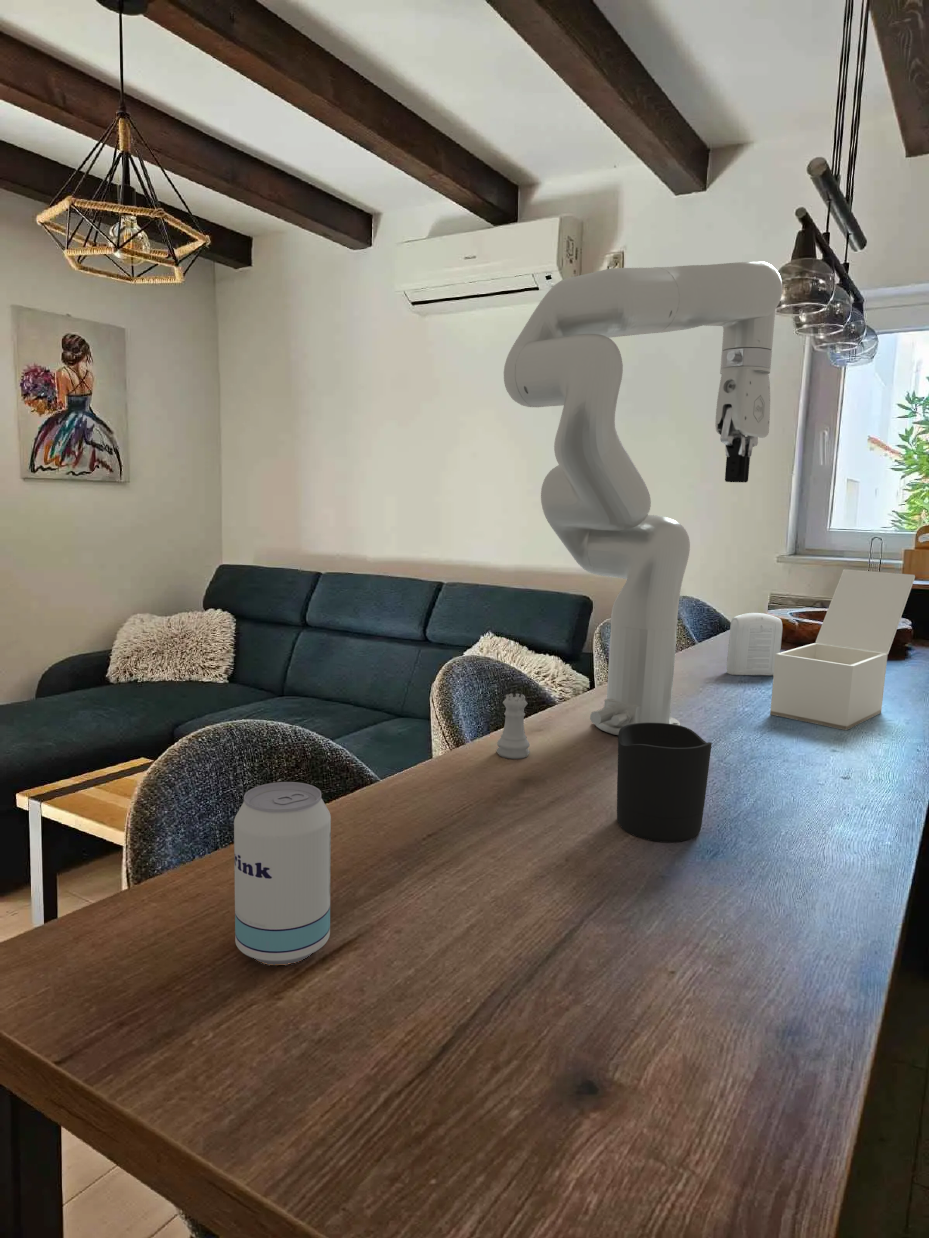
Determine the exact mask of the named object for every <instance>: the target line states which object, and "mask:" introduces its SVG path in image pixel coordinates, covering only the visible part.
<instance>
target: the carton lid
mask: <svg viewBox="0 0 929 1238" xmlns="http://www.w3.org/2000/svg"><path fill="white" fill-rule="evenodd" d="M915 575H916V574H909V573H898V572H897V573H896V572H895V573H894V572H885V571H873V570H872V571H871V570H863V569H862V570H858V569H848V568H843V570H842V572H841V575H840V577H839V581H838V583H837V585H836V588H835V590H834V593H833V596H832V598H831V600H830V603H829V606H828V609H827V610H826V614H825V616H824V619H823V621H822V624H821V626H820V629H819V632H818V634H817V637H816V639H815V643H817V644H824V645H831V646H838V647H845V648H852V649H859V650H866V651H872V652H879V653H886V654H888V655H889V653H890V650H891V647H892V644H893V642H894V638H895V636H896V633H897V630H898V628H899V625H900V622H901V618H902V615H903V613H904V610H905V607H906V604H907V601H908V598H909V597H910V593H911V591H912V587H913V584H914V581H915V578H916V576H915Z"/></svg>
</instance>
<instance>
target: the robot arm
mask: <svg viewBox="0 0 929 1238" xmlns="http://www.w3.org/2000/svg"><path fill="white" fill-rule="evenodd" d="M783 289H784V288H783V281H782V277H781V275H780V273H779V271H778V270H777V269H776V268H775V267H774V266H773V265H772V264H770V263H768V262H766V261H742V262H738V261H737V262H729V263H728V262H727V263H717V264H715V263H713V264H701V265H700V264H693V265H690V264H689V265H688V264H687V265H676V266H659V267H658V266H657V267H656V266H655V267H616V268H615V267H614V268H608V269H602V270H598V271H594V272H589V273H585V274H581V275H576V276H571V277H567V278H564V279H561V280H559V281H558V282H557V283H555V284H554V285H553V286H552V287H551V288H550V289H549V290H548V292H547V293H546V294H545V295H544V296H543V298H542V299H541V301H540V302H539V303H538V304H537V306H536V308H535V309H534V310H533V312H532V314H531V315H530V317H529V318H528V320H527V322H526V324H525V326H523V328H522V330H521V332H520V334H519V335H518V337H517V338H516V339H515V341H514V343H513V345H512V347H511V349H510V350H509V352H508V354H507V356H506V360H505V362H504V367H503V383H504V387H505V390H506V393H508V395H509V397H510V398H511V399H512V400H513V402H515V403H517V404H519V405H521V406H523V407H526V408H544V407H545V408H547V407H558V406H559V407H560V406H563V407H562V412H561V416H560V419H559V423H558V426H557V430H556V434H555V439H554V445H553V447H554V448H553V449H554V457H555V460H556V462H557V463H558V464H557V465H555V466H554V467H553V468H552V469H551V470H549V472H548V473H547V474H546V475H545V477H544V479H543V482H542V485H541V488H540V489H541V490H540V503H541V506H542V512H543V515H544V517H545V520H546V521H547V523H548V524H549V526H550V527H551V529H552V530H553V532H554V533H555V535H556V536H557V537H558V539H559V540H560V541H561V543H562V544H563V546H564V547H565V549H566V550H567V551H568V552H569V554H570V556H572V558H573V559H574V561H575V562H576V563H577V564H578V566H580V567H581V569H583V570H584V571H586V572H587V573H590V574H593V575H596V576H602V577H609V578H616V579H618V578H619V579H624V580H626V581H625V583H624V584H623V586H622V587H621V590H620V591H619V593H618V594H617V596H616V598H615V600H614V601H613V605H612V607H611V615H610V633H609V634H610V637H609V651H608V652H609V653H608V668H607V669H608V670H607V688H606V698H605V699H604V703H603V704H604V705H603V708H602V709H598V710H594V711H593V712H591V713H590V716H589V719H590V722H591V723H592V724H593V725H594V726H596V728H597V729H599V730H601V731H603V732H605V733H608V734H611V735H614V736H618V734H619V730H620V729H621V728H622V727H623V726H626V725H629V724H635V723H667V724H675V725H680V726H682V724H681V722H680V721H679V720H678V719H677V718H674V717H672V716H671V715H672V701H673V689H674V688H673V687H674V684H673V683H674V674H675V661H676V660H675V659H676V658H675V657H676V648H677V647H676V645H677V631H678V616H679V615H678V614H679V606H680V605H679V603H680V596H681V592H682V591H681V590H682V585H683V580H684V576H685V572H686V569H687V564H688V562H689V557H690V550H691V542H690V537H689V534H688V531H687V529H686V528H685V527H684V526H683V525H682V524H681V523H680V522H678V521H677V520H675V519H673V518H670V517H667V516H663V515H655V514H650V511H651V507H652V500H651V494H650V492H649V489H648V487H647V484H646V482H645V481H644V480H645V479H644V478H643V477H642V474H641V473H640V472H639V470H638V468H637V467H636V465H635V463H634V462H633V460H632V458H631V456H630V455H629V453H628V451H627V450H626V448H625V446H624V444H623V443H622V441H621V439H620V436H619V435H618V431H617V428H616V421H615V420H616V412H617V411H616V409H617V404H618V398H619V394H620V388H621V384H622V380H623V375H624V374H623V371H624V370H623V367H624V364H623V358H622V354H621V352H620V349H619V347H618V345H617V344H616V343H615V342H614V341H613V339H611V338H619V337H629V336H631V337H632V336H637V335H638V336H639V335H650V334H659V333H668V332H669V333H671V332H677V331H684V330H689V329H690V330H691V329H694V328H699V327H702V326H705V327H707V326H708V327H709V326H710V327H712V326H713V327H722V329H723V331H722V343H721V344H722V346H721V354H720V355H721V356H720V369H719V374H720V381H719V387H718V392H717V393H718V394H717V400H716V401H717V402H716V409H715V431H716V433H717V434H719V435H720V442H721V443H722V444H723V445H725V449H724V450H725V456H726V460H725V461H726V462H725V472H724V474H725V475H724V482H726V483H748V481H749V476H750V475H749V474H750V463H751V457H752V453H753V447H754V448H755V447H756V446H758V443H759V440H758V439H759V438H762V439H763V438H766V437H767V436H768V435H769V432H770V417H771V416H770V415H771V383H770V375H769V374H771V368H772V365H771V364H772V356H773V355H772V354H773V353H772V352H773V342H774V331H775V330H774V328H775V320H776V319H775V318H776V309H777V307H778V306H779V304H780V302H781V299H782V297H783V296H782V295H783Z"/></svg>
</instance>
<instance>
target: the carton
mask: <svg viewBox="0 0 929 1238" xmlns="http://www.w3.org/2000/svg"><path fill="white" fill-rule="evenodd" d="M888 655H889V653H888V654H886V653H879V652H872V651H866V650H859V649H852V648H845V647H838V646H831V645H824V644H817V643H816V642H814V643H810V644H805V645H803V646H798V647H796V648H791V649H788V650H786V651H785V650H784V651H780V653H777V654H775V665H774V676H773V678H772V679H773V680H772V689H771V701H770V715H771V716H777V717H781V718H786V719H791V720H795V721H800V722H805V723H810V724H814V725H820V726H825V727H828V728H834V729H838V730H843V731H848V730H850V729H852V728H854V727H857V726H858V725H859V724H862V723H864V722H866V721H868V720H869V719H871V718H874V717H875V716H877V715H880V714H882V709H883V700H884V692H885V691H884V690H885V680H886V673H887V663H888Z"/></svg>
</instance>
